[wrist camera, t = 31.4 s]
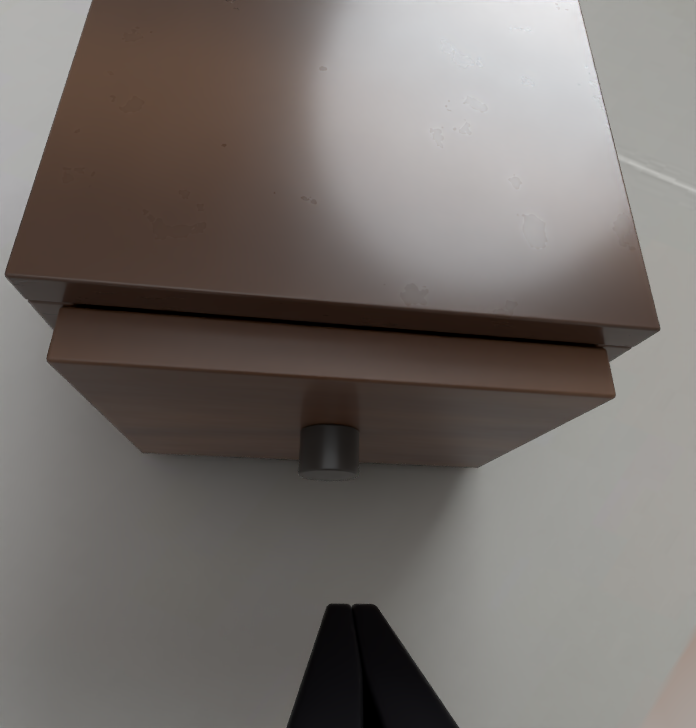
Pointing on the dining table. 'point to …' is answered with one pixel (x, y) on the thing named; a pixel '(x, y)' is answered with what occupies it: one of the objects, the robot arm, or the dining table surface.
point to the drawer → (321, 388)
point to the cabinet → (339, 171)
